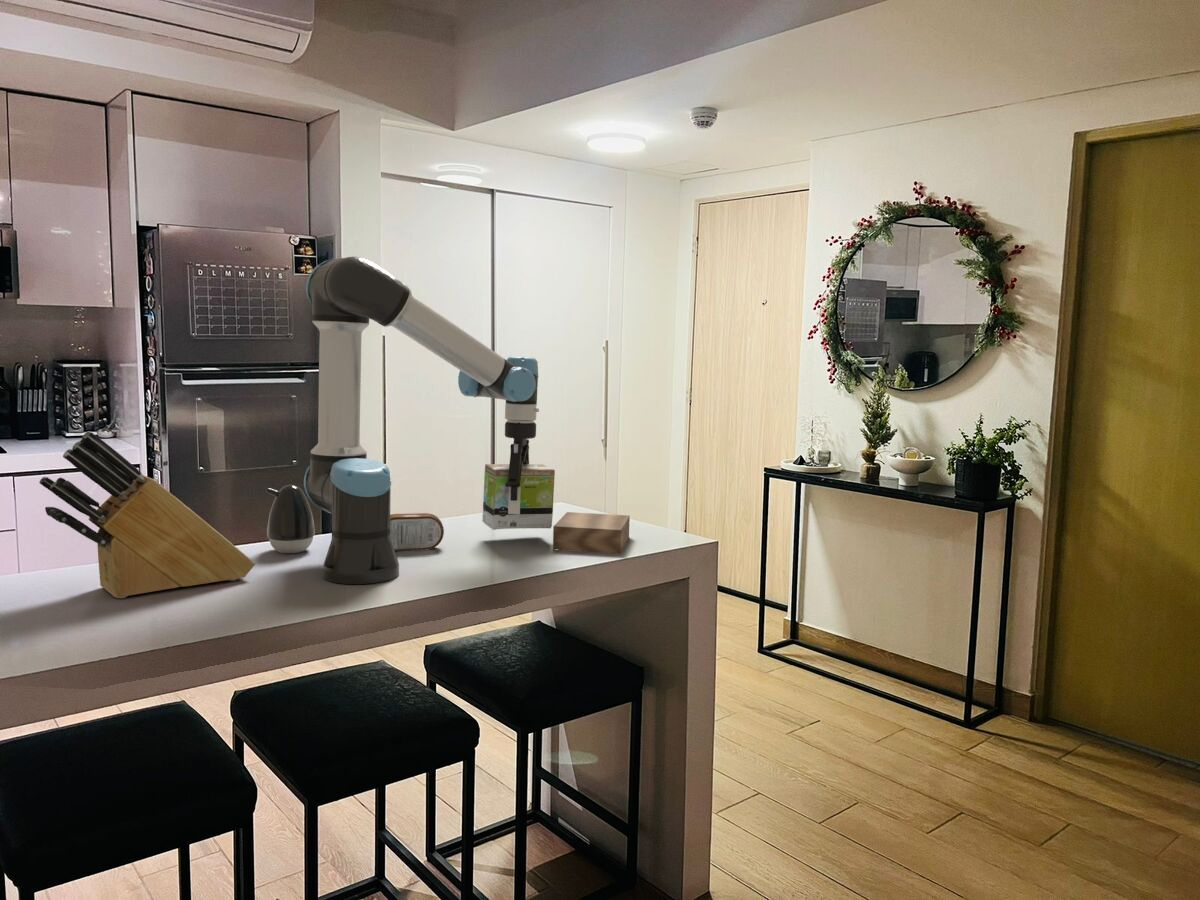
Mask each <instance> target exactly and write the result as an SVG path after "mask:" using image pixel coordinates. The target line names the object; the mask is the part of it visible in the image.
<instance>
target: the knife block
mask: <svg viewBox="0 0 1200 900" xmlns="http://www.w3.org/2000/svg"><path fill="white" fill-rule="evenodd" d="M81 438H82V439H80V440H79V441H77V442H75V443H74V445H73V446H72V449H71V448H68V449H67V450H65V451H64V453H63V455H62V457H63V458H64V460H66V461H68V462H69V463H70V464H72V465H73V466H74V467H75V468H76V469H77V470H79V471H80V473H82V474H83V475H84V476H86V477H87V478H89V479H90V480H91V481H93V483H95V484H97V485H98V486H99V487H101V489H103V490H105V491H106V492H107V493H109V494H110V496H109V497H108V498H107V499H106V500H105V501H104V502H103V503H102V504H101V505H100V503H99V502H98V501H97V500H95V499H94V498H92V497H91V496H89V495H88V494H87V493H86V492H84V491H83V490H82V489H80V488H79V487H77V486H76V485H74V484H73V483H72V482H71V481H69V480H66V479H65V478H63V477H58V478H57V479H56V480H55V481H54V480H52V479H51V478H49V477H48V476H44V477H42V478H40V480H39V484H40V485H41V486H43V487H44V488H45V489H47V490H48V491H50V492H51V493H52V494H54V495H55V496H57V497H58V498H59V499H61V500H62V501H63V502H65V503H66V504H68V505H69V506H70V507H72V508H73V509H75V510H76V511H78V512H79V513H81V514H83V515H85V516H87V517H88V521H89V522H91V523H92V524H94V526H96V527H98V530H97V531H96V530H93V528H91V527H89V526H88V525H86V524H85V523H84V522H82V521H81V520H79V519H77V518H75V517H74V516H73V515H71V514H69V513H67V512H65V511H64V510H62V509H60V508H58V507H54V506H46V507H45V508H44V510H45V512H46V515H47V516H49V517H50V518H52V519H54V520H55V521H56V522H58V523H60V524H64V525H66V526H68V527H69V528H71V529H72V530H74V531H75V532H77V533H79V534H80V535H82V536H83V537H85V538H87V539H88V540H90V541H92V542H95V544H97V557H98V558H97V559H98V561H97V562H98V573H99V584H100V587H102V588H103V589H104V590H105V591H106V592H107V593H109V594H110V595H112V596H113V597H114V598H116V599H126V598H127V597H128V596H133V595H140V594H145V593H152V592H158V591H163V590H171V589H175V588H180V587H183V588H184V587H191V586H198V585H203V584H204V585H205V584H210V583H217V582H223V581H230V582H231V581H237V580H238V579H240V578H241V579H242V578H245V577H246V576H248V574H249V572H251V570H252V569H253V568H254V567H255V565H256V563H255V562H254V560H252V559H251V558H250V557H248V555H246V554H245V553H244V552H243V551H241V550H240V549H239V548H238V547H236V545H234V544H233V543H232V542H231V541H230V540H228V539H227V538H226V537H224V535H222V534H221V533H220V532H219V531H217V530H216V529H215V528H213V527H212V526H211V525H210V524H209V523H208V522H207V521H205V520H204V519H203V518H202V517H200V516H199V515H198V514H197V513H195V512H194V511H193V510H192V509H191V508H190V507H188V506H187V505H185V504H184V503H183V501H181V500H180V499H178V498H177V497H176V496H175V495H173V494H172V493H171V492H170V491H169V490H168V489H166V488H165V487H164V486H163V485H161V484H160V483H159V482H158V481H157V480H155V479H154V478H151V477H149V476H146V475H144V474H143V473H142V472H141V471H140V470H139V469H138V468H137V467H136V466H135V465H133V464H132V463H131V462H130V461H128V460H127V459H126V458H125V457H124V456H123V455H122V454H120V453H119V452H118V451H117V450H115V449H114V448H113V447H112V446H110V445H109V444H108V443H107V442H105V441H104V440H103V439H101V437H99V436H97V435H96V434H94V433H93V432H92V431H90V430H89V431H86V432H85V433H84V434H83V435H82V437H81ZM96 508H97V509H96Z"/></svg>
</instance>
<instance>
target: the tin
mask: <svg viewBox="0 0 1200 900" xmlns="http://www.w3.org/2000/svg"><path fill="white" fill-rule="evenodd" d="M444 534H445V529H444V526H443V523H442V521H441V520H440V518H439V517H438V516H437V515H435V514H433V513H427V512H424V513H419V512H417V513H393V514H390V538H391V541H392V544H393V547H394V550H395V552H402V551H407V550H408V551H426V550H425V549H429V550H433V549H434V548H436V547H437V546H439V544H440V543H441V542H442V540H443V539H444V536H445V535H444ZM422 549H423V550H422Z"/></svg>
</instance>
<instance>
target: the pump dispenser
mask: <svg viewBox="0 0 1200 900" xmlns="http://www.w3.org/2000/svg"><path fill="white" fill-rule="evenodd" d="M265 492H266V493H267V494H269V495H272V496H274V497H275V498H274V500H273V503H272V505H271V508H270V511H269V516H268V522H267V529H266V530H267V531H266V536H267V538H268V541H269V543H270V545H271V546H272V548H273V549H274V550H275V551H277V552H279V553H280V552H281V553H280V554H286V553H292V554H299V553H302V552H304V551H305V550H307V549H309V547H310V546H311V545H312V542H313V540H314V536H315V533H316V532H315V531H316V530H315V529H316V528H315V523H314V517H313V512H312V509H311V507H310V503H309V501H308V497H307V496H306V495H305V494H306V493H304V491H303V490H302V488H301V487H299V486H297V485H295V484H287V485H284V486H283V487H281V488H280V489H279V490H277V489H273V488H271V487H267V488H266V490H265Z"/></svg>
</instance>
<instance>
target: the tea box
mask: <svg viewBox="0 0 1200 900" xmlns="http://www.w3.org/2000/svg"><path fill="white" fill-rule="evenodd" d="M509 464H510V463H509ZM509 464H507V463H506V464H505V463H502V464H501V463H493V464H492V463H491V464H490V463H489V464H488V463H485V465H484V476H483V478H484V480H483V481H484V482H483V498H482V499H483V501H482V502H483V504H482V520H481V521H482V523H483V524H484V525H486V526H487V527H488V528H490V530H493V531H494V530H506V529H507V530H508V529H509V530H510V529H512V530H513V529H551V528H553V527H552V525H553V514H554V513H553V512H554V490H555V479H556V478H555V475H556V474H555V473H556V472H555V471H556V470H555V469H554V468H551V467H549V466H546V465H544V464H539V463H538V464H530V463H529V464H522V470H521V479H520V487H521V493H520V514H508V498H509V487H506V483H507V481H508V475H509Z"/></svg>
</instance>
